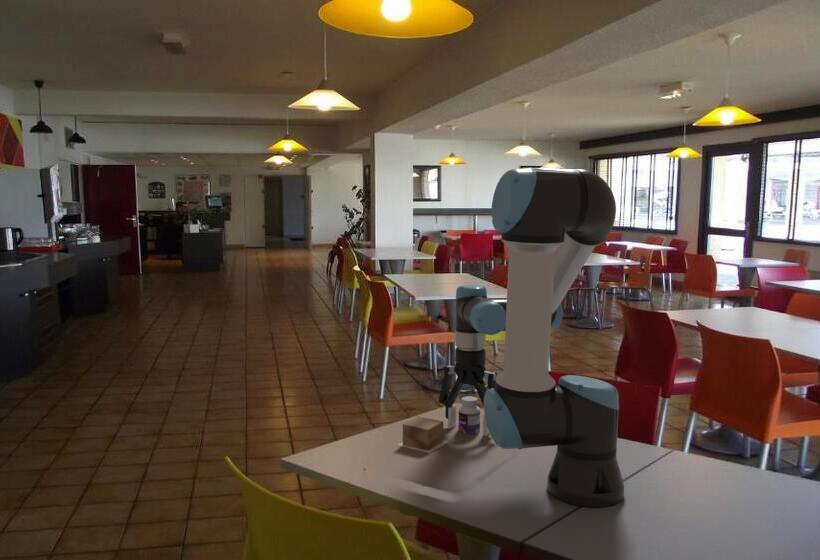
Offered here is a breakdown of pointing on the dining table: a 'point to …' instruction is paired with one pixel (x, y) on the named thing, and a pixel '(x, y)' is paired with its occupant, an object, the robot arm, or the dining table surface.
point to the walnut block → (423, 433)
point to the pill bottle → (469, 416)
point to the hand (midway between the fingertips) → (469, 435)
